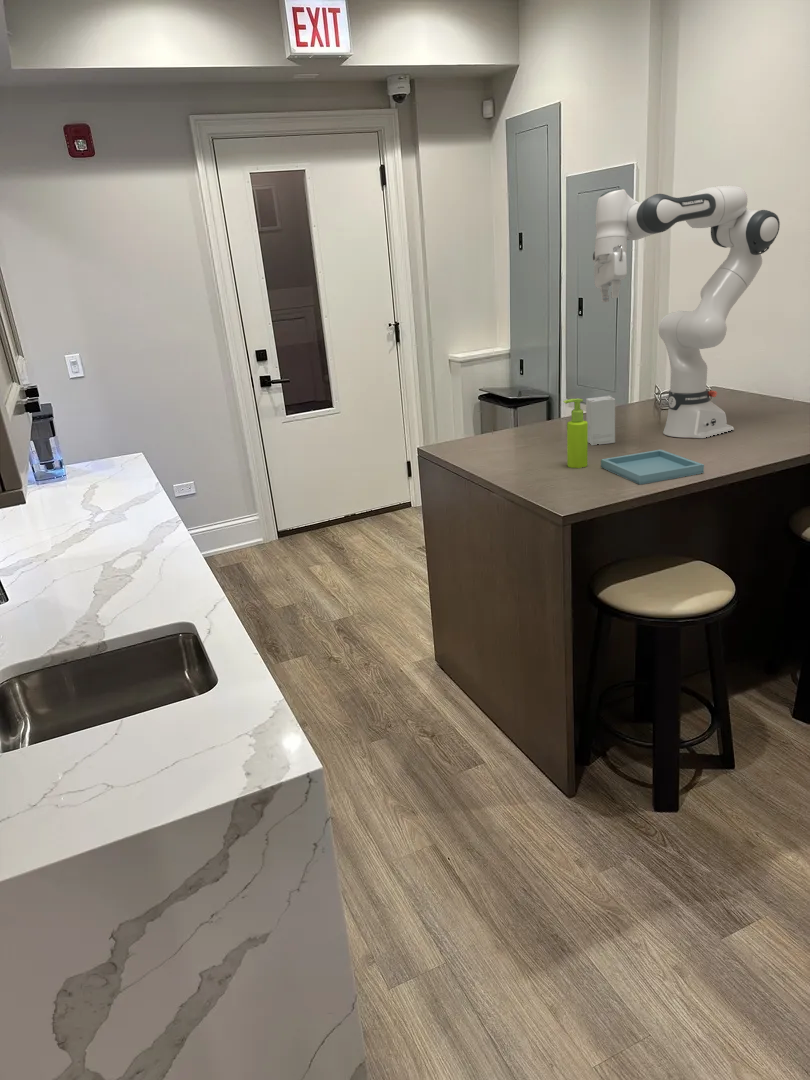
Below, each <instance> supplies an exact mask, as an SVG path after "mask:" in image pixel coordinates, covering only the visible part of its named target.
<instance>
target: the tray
mask: <svg viewBox="0 0 810 1080" xmlns="http://www.w3.org/2000/svg"><path fill="white" fill-rule="evenodd" d="M601 467H602V468H601ZM600 468H601V469H603V468H604V469H603V470H605V469H606V470H605V471H607V470H608V472H610V473H612V474H614V473H615V474H614V475H616V474H617V476H619V477H622V478H624V479H626V480H628V481H629V482H630V481H631V482H632V481H633V483H635V484H637V485H646V484H651V483H658V482H662V481H663V480H664V481H669V480H674V479H680V478H684V477H685V476H686V477H691V475H692V476H697V475H701V473H703V474H704V471H705V464H704V463H701V462H698V461H695V460H692V459H690V458H686V457H683V456H681V455H678V454H675V453H671V452H670V451H667V450H663V449H656V450H650V451H645V452H644V451H643V452H638V453H632V454H631V453H630V454H626V455H620V456H619V455H618V456H615V457H614V456H613V457H607V458H603V459H600ZM696 474H697V475H696ZM679 477H680V478H679ZM668 479H669V480H668Z"/></svg>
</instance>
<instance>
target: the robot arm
mask: <svg viewBox="0 0 810 1080" xmlns="http://www.w3.org/2000/svg"><path fill="white" fill-rule="evenodd" d="M747 206H748V195H747V192H746V191H745V190H744V188H743V187H740V186H738V185H717V186H709V187H705V188H701V189H700V190H697V191H694V192H691V193H690V194H689V195H688V196H683V197H682V196H681V197H675V196H670V195H668V194H665V193H656V194H653V195H651V196H648V198H646V199H644V200H642V201H637V200H636V199H634V198H632V197H631V196H630V195H629V194H628V193H627V191H626V189H623V188H616V189H612V190H609V191H607V192H604V193H603V194H601V195H600V196H599V197H598V199H597V203H596V207H595V209H596V210H595V227H596V236H595V239H594V240H595V243H594V245H595V246H594V251H593V254H592V256H591V257H592V262H593V263H594V264H593V270H594V271H593V273H594V274H593V275H594V285H595V288H596V289H600V296H601V303H608V302H609V301H610V298H611V299H618V298H619V295H620V294H619V292H620V288H621V282H622V280H624V279H626V278H627V271H628V267H627V266H628V264H627V256H628V255H627V252H628V251H627V250H628V247H627V246H628V241H637V240H642V239H644V238H646V237H650V236H652V235H656V234H660V233H663V232H665V231H668V230H669V229H670V228H672V227H673V226H674V225H675V224H677V223H680V222H684V221H685V222H686V223H687V225H688V226H689V227H690V228H692V229H706V228H710V237H711V240H712V242H713V244H714V245H717V246H719V247H721V248H724V249H725V248H729V253H728V255H727V256H726V259H724V261H723V262H722V263H721V264H720V265H719V267H717V269H716V270H715V271H714V273H713V274H712V275H711V276H710V278H709V279H708V280H707V282H706V283H705V284H704V285H703V287H702V288H701V290H700V298H701V300H700V302H699V303H698V306H697V307H696V308H695V309H694V310H692V311H690V310H678V311H677V310H676V311H674V312H673V311H672V312H671V313H667V314H666V315H664V316H663V318H661V320H660V322H659V324H658V334H659V337H660V339H661V340H662V341H663V343H664V346H665V347H666V351H667V355H668V359H669V366H670V381H669V383H670V384H669V385H670V386H669V391H668V395H667V396H668V398H667V402H668V411H667V412H668V413H667V417H666V422H665V425H664V429H663V431H662V433H663V434H664V435H665V436H668V437H674V438H694V439H706V437H707V438H710V436H711V437H714V436H713V435H715V436H718V435H717V434H719V435H722V434H721V433H723V434H725V433H724V432H727V433H729V432H728V431H731V430H734V431H735V428H734V426H732V425H731V424H728V422H727V421H728V420H727V415H726V412H725V411H724V410H723V409H722V408H721V407H719V406H718V405H717V404H715V403H714V402H712V401H711V398H715V397H717V395H718V392H717V391H716V390H708V389H707V381H708V365H707V362H705V360H704V358H703V356H702V354H701V351H700V350H705V349H709V348H715V347H717V346H719V345H720V344H721V343H722V342H723V341H724V340H725V337H726V335H727V331H728V330H727V329H728V328H727V327H728V326H727V323H726V320H727V318H728V315H729V313H730V311H731V310H732V308H733V307H734V306H735V304H736V303H737V301H738V300H739V299H740V298H741V296H743V294H744V293H745V291H746V290H747V288H748V287H750V285H751V283H752V282H753V280H754V279H755V278H756V275H757V274H758V272H759V271H760V269H761V267H762V264H763V256H762V255H761V254H764V253H766V252H767V251H768V250H769V249H770V247H771V245H772V244H773V243H774V242H775V240H776V238H777V237H778V235H779V231H780V225H781V222H780V219H779V216H778V215H777V214H776V213H775V212H773V211H771V210H767V209H761V210H760V209H749V208H747ZM610 286H611V292H610V295H609V290H610V289H609V287H610ZM710 397H711V398H710ZM731 432H732V431H731Z"/></svg>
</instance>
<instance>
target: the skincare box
mask: <svg viewBox="0 0 810 1080" xmlns="http://www.w3.org/2000/svg"><path fill="white" fill-rule="evenodd" d="M585 407H586V408H585V412H586V417H585V418H586V419H585V421H587V422H588V444H589V443H590V444H591V445H590V444H589V445H590V446H596V445H597V444H599V445H605V444H607V445H608V444H615V443H616V399H615V398H614V397H613V396H612V395H604V396H598V397H589V398H585Z"/></svg>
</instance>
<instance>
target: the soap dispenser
mask: <svg viewBox="0 0 810 1080" xmlns="http://www.w3.org/2000/svg"><path fill="white" fill-rule="evenodd" d="M562 402H563V403H564V404H570V403H574V404H573V405H574V406H573V407H574V408H573V409H572V410H571V420H569V421H567V422H566V440H567V441H566V443H567V444H566V446H567V447H566V455H567V456H566V460H567V461H566V462H567V463H566V464H567V465H566V466H567V467H568V468H571V469H582V467H583V468H585V467H588V447H589V446H588V445H589V443H588V422H587V421H586V420H584V410H583V409H582V408H581V403H582V402H584V400H583V399H582V398H569V399H566V400H563V401H562Z"/></svg>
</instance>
